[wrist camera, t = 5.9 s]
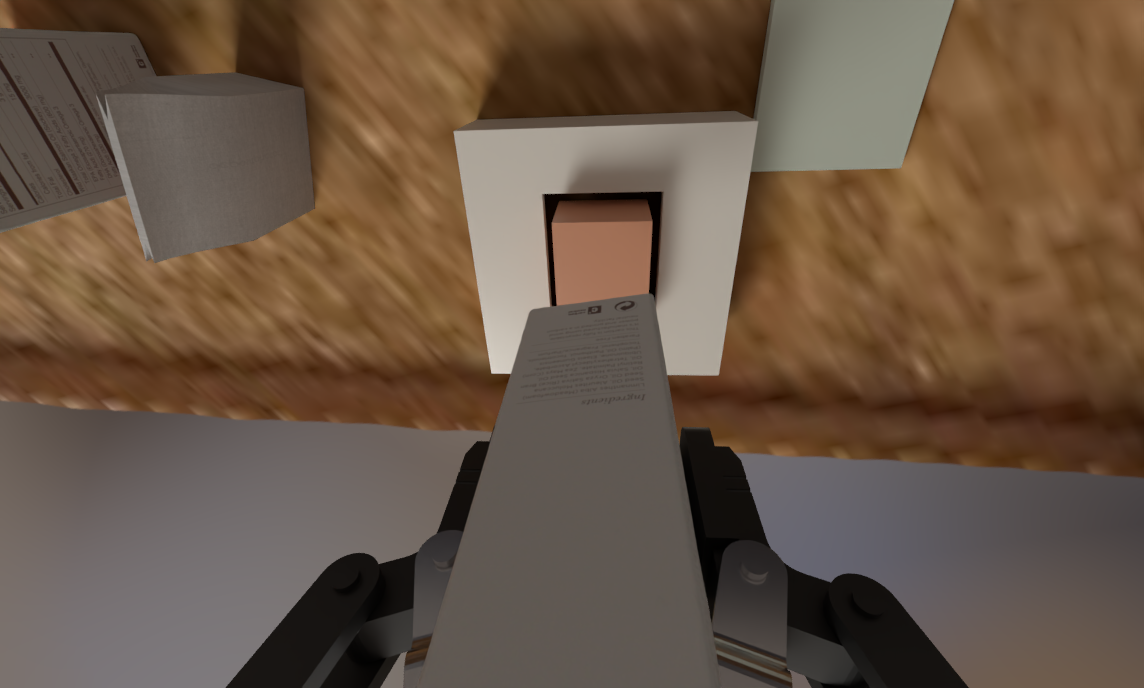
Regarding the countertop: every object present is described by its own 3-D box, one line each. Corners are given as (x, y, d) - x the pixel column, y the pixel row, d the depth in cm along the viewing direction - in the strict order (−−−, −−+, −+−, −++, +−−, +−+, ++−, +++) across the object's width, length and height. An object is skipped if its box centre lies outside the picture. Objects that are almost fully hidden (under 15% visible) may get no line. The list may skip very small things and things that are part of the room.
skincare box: (525, 306, 16) (371, 777, 5) (654, 288, 15) (751, 785, 5) (561, 440, 19) (506, 898, 9) (668, 429, 18) (747, 913, 8)
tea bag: (303, 88, 26) (153, 105, 17) (315, 208, 29) (194, 271, 21) (236, 72, 25) (49, 81, 17) (255, 195, 29) (109, 253, 21)
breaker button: (646, 199, 24) (652, 221, 21) (641, 311, 28) (645, 345, 25) (559, 201, 25) (551, 223, 21) (564, 311, 28) (559, 344, 25)
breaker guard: (735, 110, 25) (758, 121, 21) (705, 337, 32) (718, 375, 28) (476, 119, 26) (453, 130, 22) (505, 336, 33) (491, 373, 29)
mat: (952, -18, 21) (960, -19, 21) (895, 166, 26) (900, 168, 25) (772, -8, 22) (776, -9, 22) (745, 169, 26) (748, 171, 26)
